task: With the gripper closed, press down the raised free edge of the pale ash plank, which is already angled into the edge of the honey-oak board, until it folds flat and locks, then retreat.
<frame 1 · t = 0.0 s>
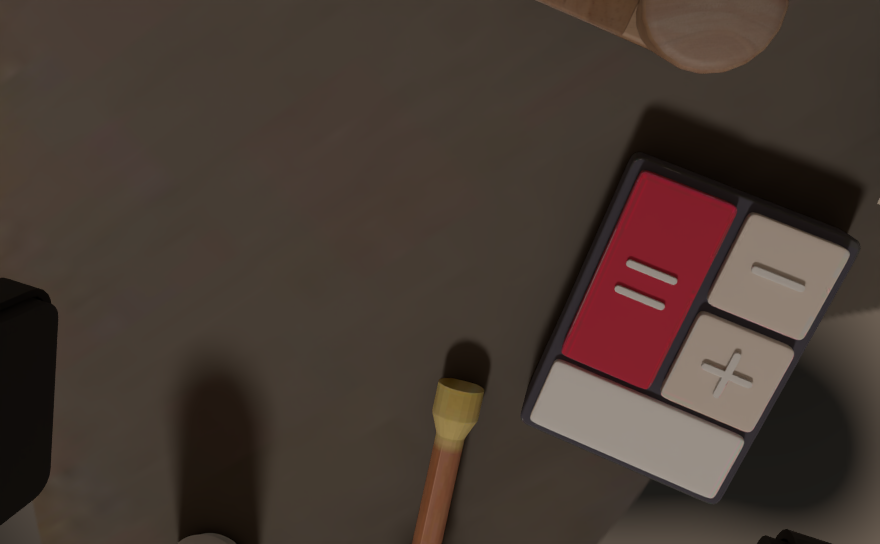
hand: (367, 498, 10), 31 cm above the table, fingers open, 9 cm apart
calculator: (673, 316, 40), on the table
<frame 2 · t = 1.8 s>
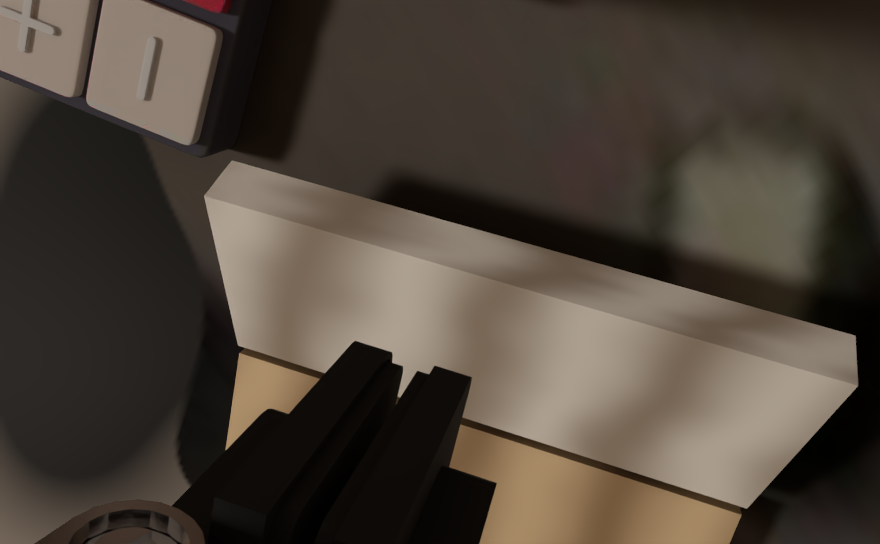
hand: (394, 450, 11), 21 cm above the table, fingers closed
oak board: (460, 499, 36), on the table
ash plank: (499, 341, 29), point 4 cm above the table, hinge at 30.0°
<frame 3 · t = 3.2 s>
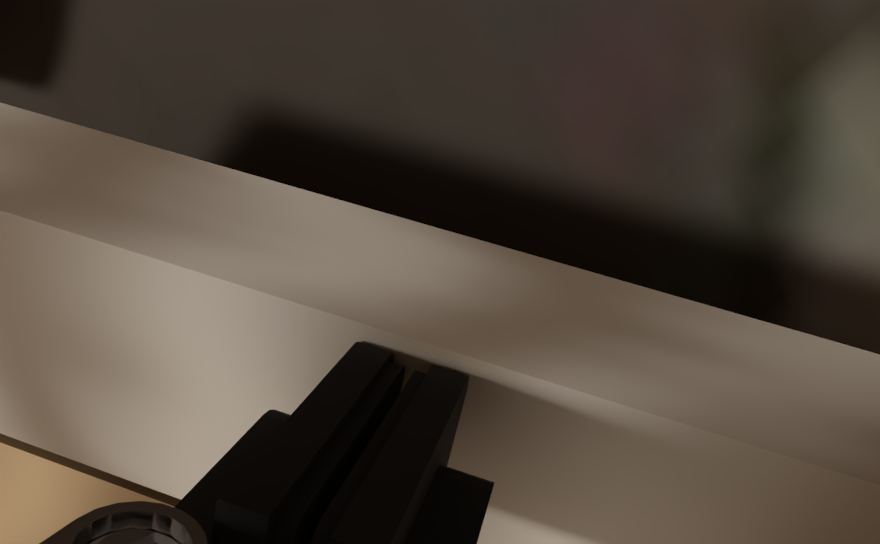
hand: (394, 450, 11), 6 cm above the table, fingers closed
ash plank: (437, 446, 14), point 4 cm above the table, hinge at 29.9°, touching gripper
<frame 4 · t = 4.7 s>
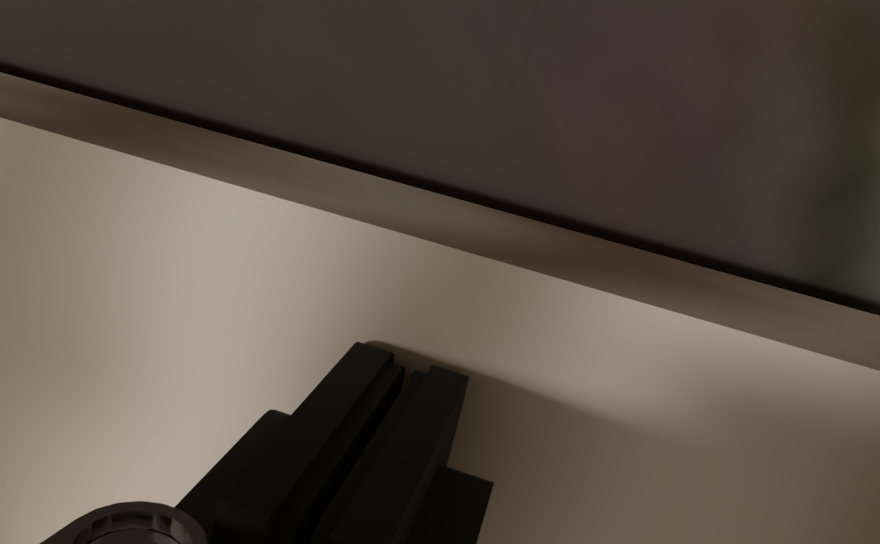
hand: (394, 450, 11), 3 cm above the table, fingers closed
ash plank: (437, 493, 12), point 1 cm above the table, hinge at 3.0°, touching gripper
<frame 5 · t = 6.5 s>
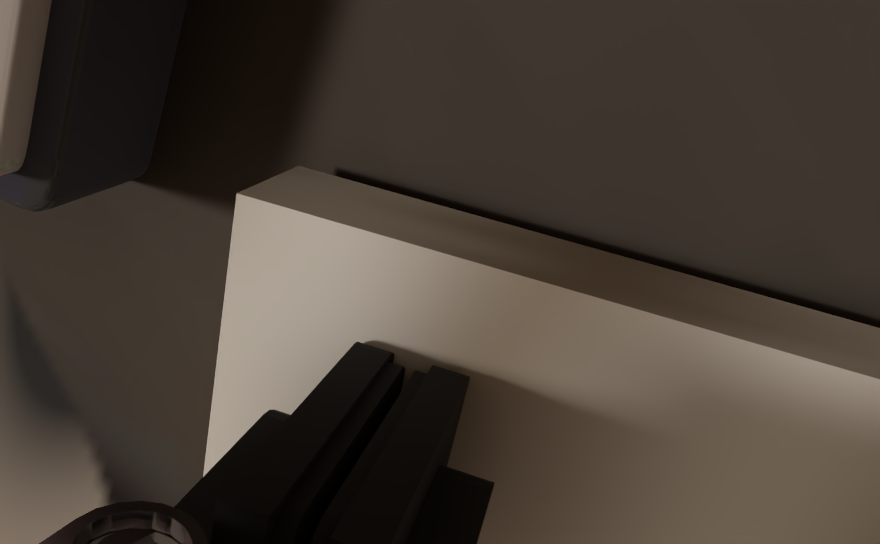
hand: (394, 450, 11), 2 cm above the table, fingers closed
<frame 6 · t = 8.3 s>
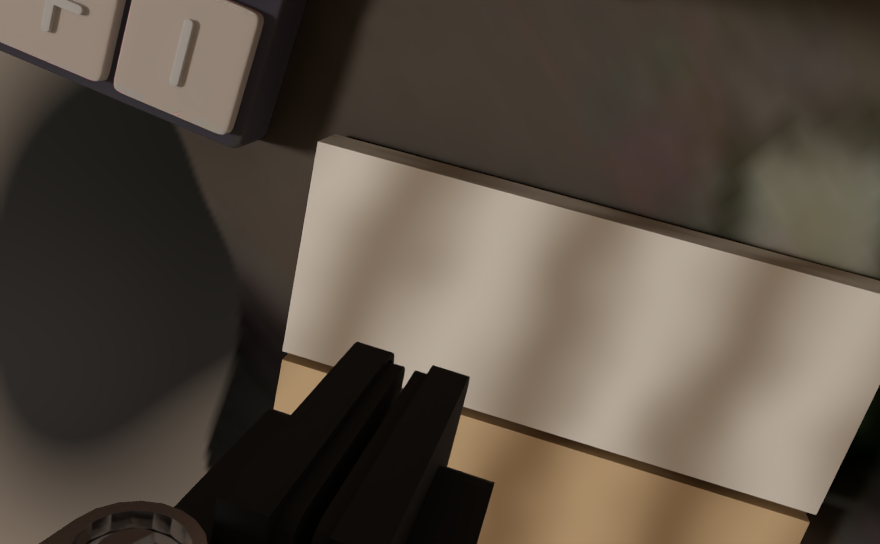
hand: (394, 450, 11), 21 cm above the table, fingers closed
oak board: (509, 509, 34), on the table
ash plank: (570, 320, 30), point 1 cm above the table, hinge at 1.1°
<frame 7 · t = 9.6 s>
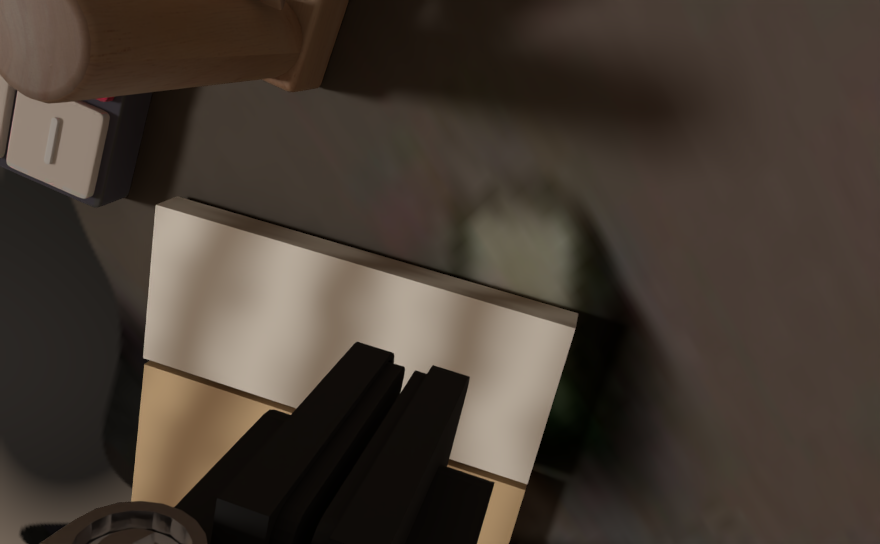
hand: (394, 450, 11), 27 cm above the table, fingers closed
calculator: (36, 52, 41), on the table
oak board: (325, 481, 44), on the table
ash plank: (348, 336, 40), point 1 cm above the table, hinge at 1.1°
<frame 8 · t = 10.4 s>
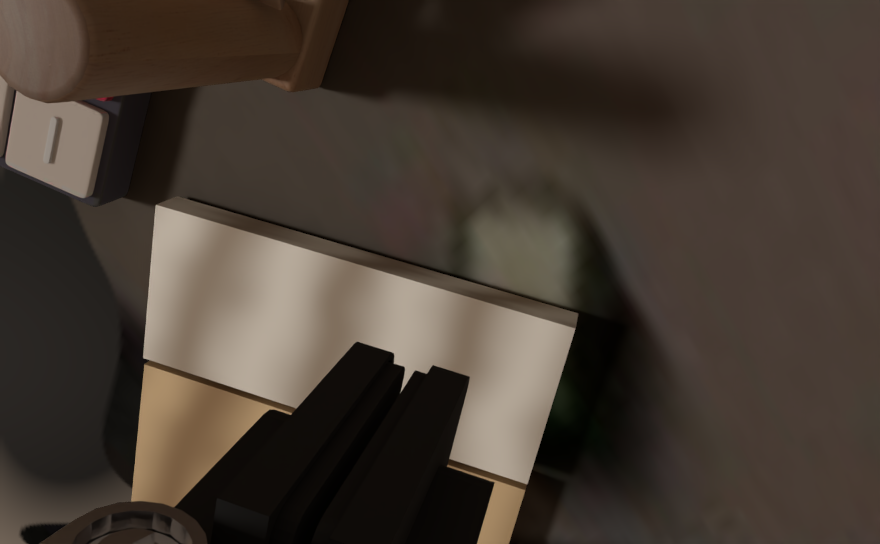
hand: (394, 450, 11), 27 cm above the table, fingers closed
calculator: (35, 51, 41), on the table
oak board: (325, 481, 44), on the table
ash plank: (348, 336, 40), point 1 cm above the table, hinge at 1.1°
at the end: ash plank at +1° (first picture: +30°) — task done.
